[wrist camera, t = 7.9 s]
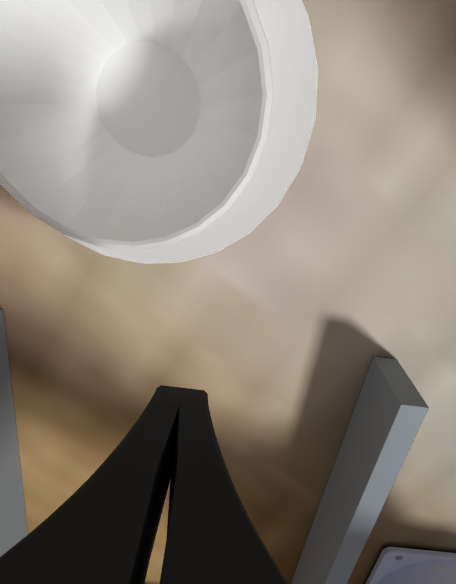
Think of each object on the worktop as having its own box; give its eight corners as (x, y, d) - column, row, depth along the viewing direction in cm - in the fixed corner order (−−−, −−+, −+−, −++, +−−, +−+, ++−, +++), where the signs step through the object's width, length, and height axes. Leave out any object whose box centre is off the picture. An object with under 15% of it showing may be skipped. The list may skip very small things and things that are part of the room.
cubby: (396, 359, 20) (429, 407, 16) (294, 618, 29) (302, 679, 26) (-23, 306, 18) (-76, 347, 15) (18, 594, 28) (-9, 655, 25)
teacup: (378, 78, 14) (453, 64, 10) (183, 302, 18) (166, 371, 14) (99, -227, 11) (0, -479, 6) (-66, 124, 15) (-203, 132, 10)
